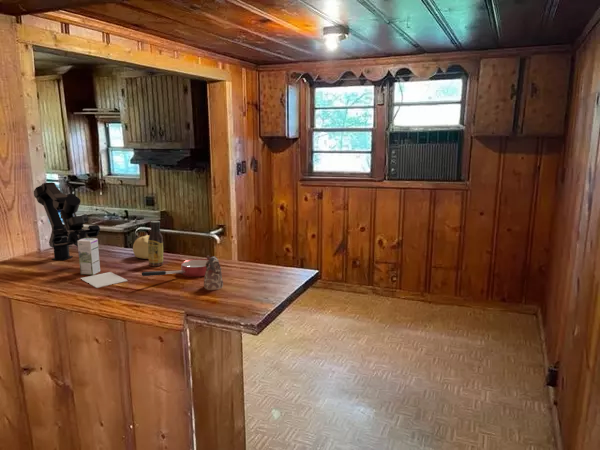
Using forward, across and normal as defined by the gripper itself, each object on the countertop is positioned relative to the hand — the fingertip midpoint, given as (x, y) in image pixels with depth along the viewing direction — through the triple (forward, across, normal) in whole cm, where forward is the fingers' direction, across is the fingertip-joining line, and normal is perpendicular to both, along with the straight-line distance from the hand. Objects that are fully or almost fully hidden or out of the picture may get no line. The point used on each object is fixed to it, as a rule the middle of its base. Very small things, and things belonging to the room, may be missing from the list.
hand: (82, 249), depth 182 cm
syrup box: (+11, 0, +2) cm, 11 cm away
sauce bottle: (+17, +25, -4) cm, 31 cm away
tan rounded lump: (+6, +29, +7) cm, 30 cm away
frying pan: (+35, +22, -21) cm, 46 cm away
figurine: (+47, +26, -34) cm, 64 cm away
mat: (+20, 0, -7) cm, 22 cm away
